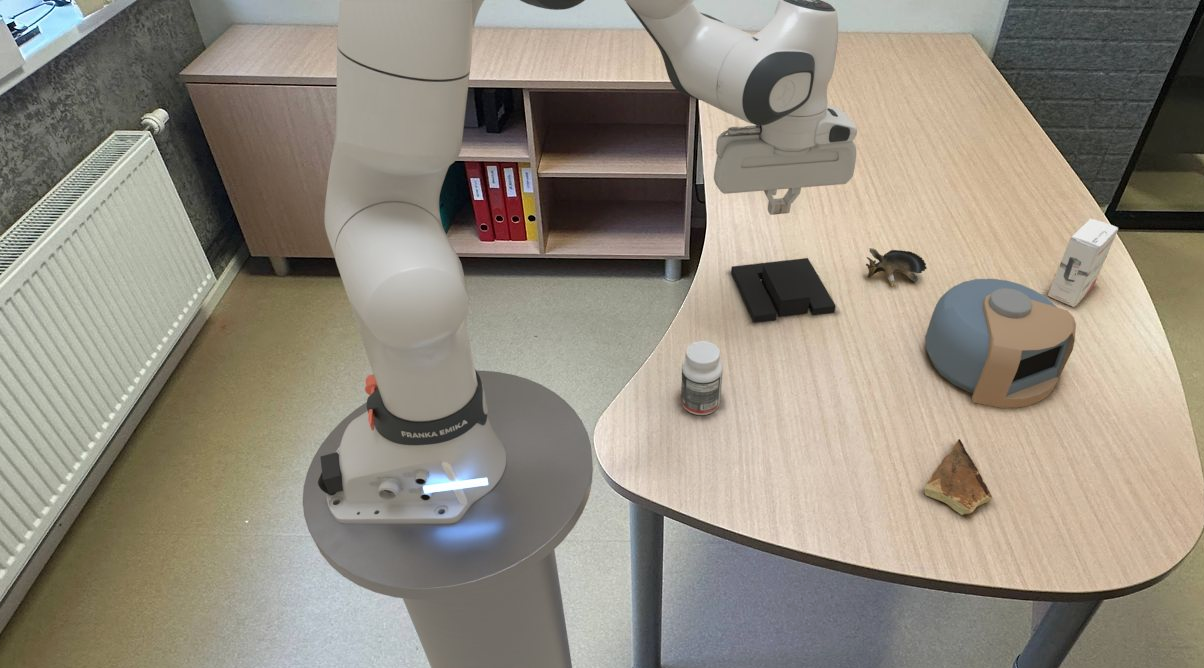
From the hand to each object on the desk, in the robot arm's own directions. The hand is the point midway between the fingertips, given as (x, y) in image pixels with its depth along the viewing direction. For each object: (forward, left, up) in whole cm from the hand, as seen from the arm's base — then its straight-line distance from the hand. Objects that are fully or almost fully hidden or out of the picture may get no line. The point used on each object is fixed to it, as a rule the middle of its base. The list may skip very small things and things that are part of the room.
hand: (778, 212), depth 117 cm
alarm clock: (+30, -19, -19) cm, 40 cm away
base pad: (+4, +4, -19) cm, 20 cm away
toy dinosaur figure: (+24, +4, -19) cm, 31 cm away
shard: (+13, -40, -19) cm, 46 cm away
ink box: (+53, -5, -19) cm, 57 cm away
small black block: (+4, +3, -19) cm, 19 cm away
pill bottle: (-16, -19, -19) cm, 31 cm away
